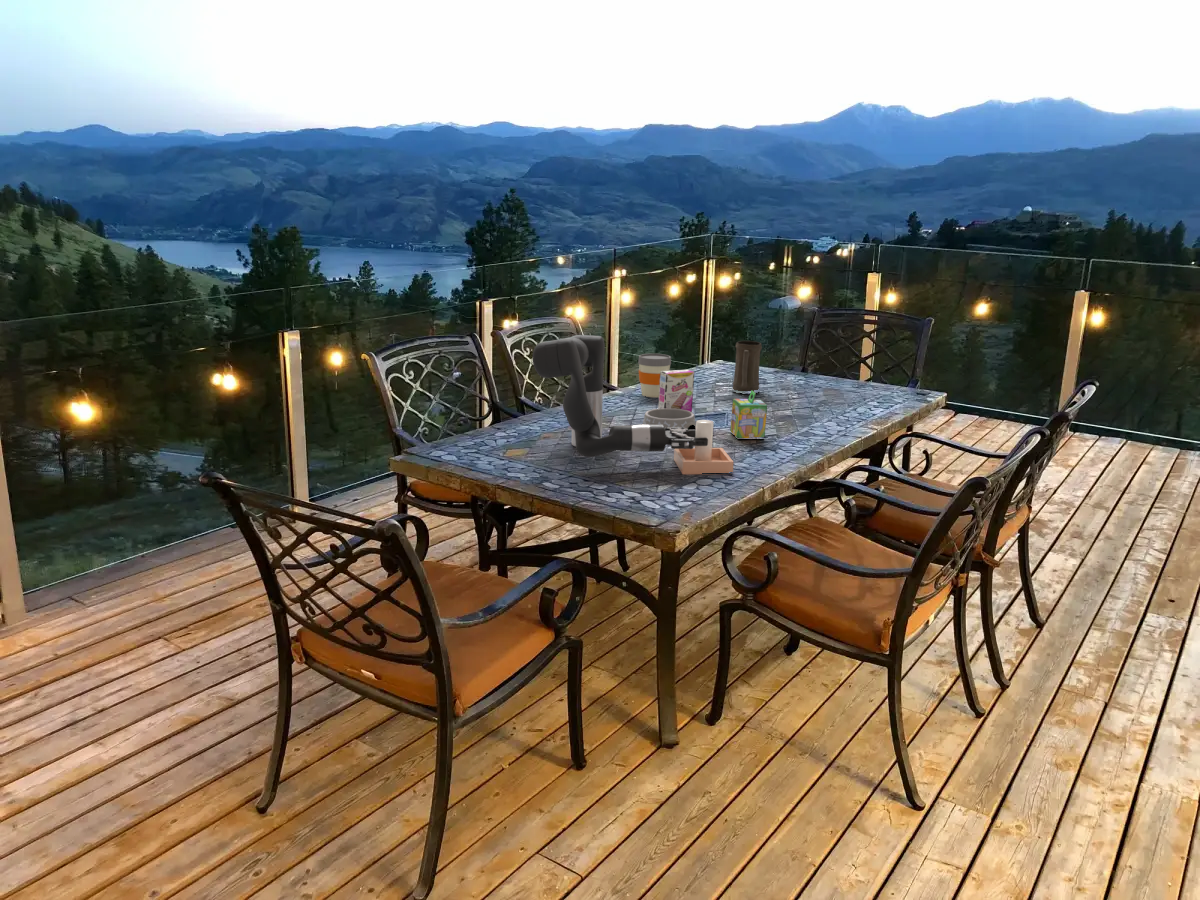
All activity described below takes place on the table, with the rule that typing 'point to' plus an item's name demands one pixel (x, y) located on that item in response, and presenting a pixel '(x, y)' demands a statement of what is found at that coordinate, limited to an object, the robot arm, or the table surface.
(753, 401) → the chalk box
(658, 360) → the reusable coffee cup
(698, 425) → the ceramic canister
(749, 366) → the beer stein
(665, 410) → the dog bowl
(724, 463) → the terracotta tray
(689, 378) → the candy bar box
